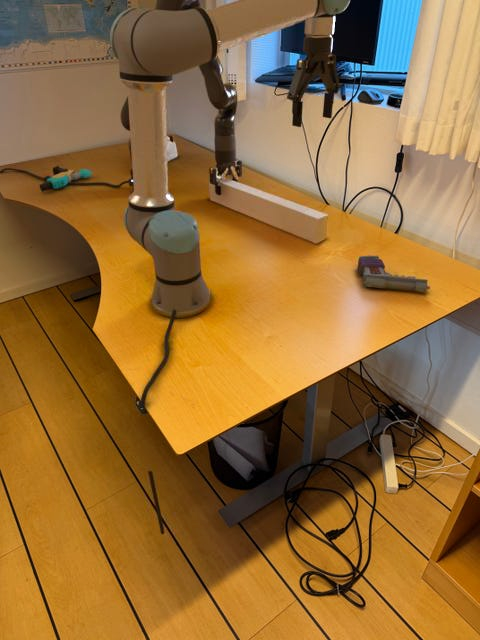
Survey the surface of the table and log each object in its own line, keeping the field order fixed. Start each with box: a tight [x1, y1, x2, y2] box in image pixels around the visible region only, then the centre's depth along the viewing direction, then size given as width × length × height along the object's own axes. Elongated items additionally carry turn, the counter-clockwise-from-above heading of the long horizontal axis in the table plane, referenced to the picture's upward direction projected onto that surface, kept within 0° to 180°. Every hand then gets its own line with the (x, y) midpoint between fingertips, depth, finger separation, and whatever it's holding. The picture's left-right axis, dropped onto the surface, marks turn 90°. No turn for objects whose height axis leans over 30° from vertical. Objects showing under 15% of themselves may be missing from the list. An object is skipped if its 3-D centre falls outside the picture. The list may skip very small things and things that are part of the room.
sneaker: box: [167, 134, 179, 163], centre depth 214 cm, size 10×29×12 cm, turn 163°
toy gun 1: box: [39, 165, 92, 193], centre depth 197 cm, size 4×26×15 cm
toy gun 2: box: [356, 254, 431, 293], centre depth 132 cm, size 4×19×15 cm
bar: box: [208, 175, 329, 245], centre depth 166 cm, size 52×5×8 cm, turn 44°
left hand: (226, 191), depth 177 cm, fingers open, 7 cm apart
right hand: (312, 121), depth 136 cm, fingers open, 13 cm apart
